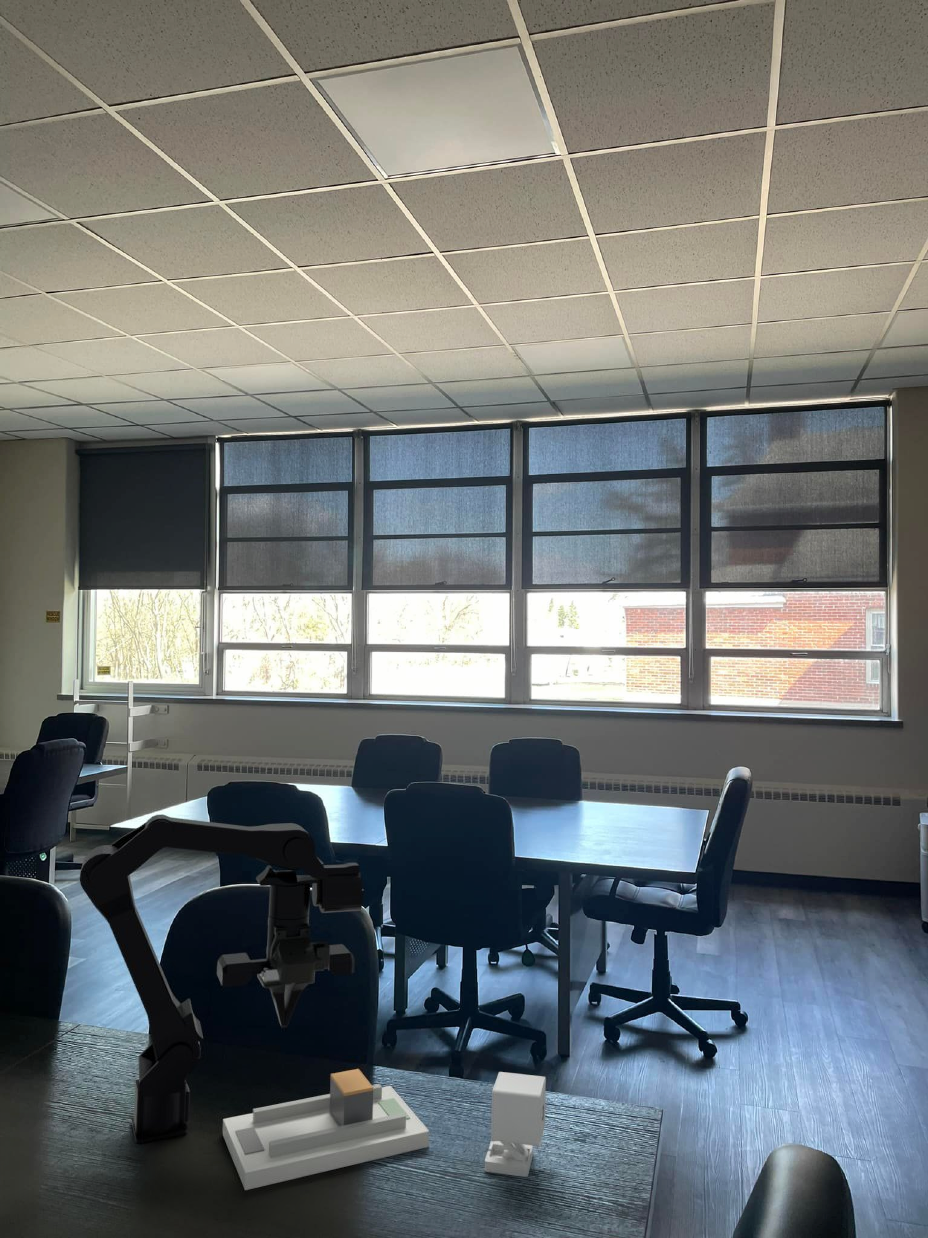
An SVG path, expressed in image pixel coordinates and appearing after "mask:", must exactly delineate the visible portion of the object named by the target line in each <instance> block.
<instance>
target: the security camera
mask: <svg viewBox="0 0 928 1238" xmlns="http://www.w3.org/2000/svg"><path fill="white" fill-rule="evenodd" d="M546 1079H547V1078H546V1076H541V1075H531V1074H523V1073H515V1072H506V1071H505V1072H503V1071H498V1074H497V1077H496V1080H495V1082H494V1085H493V1088H492V1091H491V1119H490V1121H491V1122H490V1124H491V1125H490V1126H491V1129H490V1144H489V1146H488V1150H487V1153H486V1155H485V1159H484V1171H485V1172H487V1173H492V1174H493V1173H494V1174H501V1175H508V1176H509V1175H510V1176H517V1177H518V1176H519V1177H524V1178H528V1176H529V1172H530V1169H531V1165H532V1160H533V1157H534V1147H537V1148H541V1146H542V1140H543V1136H544V1132H545V1125H546V1098H547V1097H546V1083H547V1081H546Z"/></svg>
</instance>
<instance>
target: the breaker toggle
mask: <svg viewBox="0 0 928 1238" xmlns="http://www.w3.org/2000/svg"><path fill="white" fill-rule="evenodd" d="M329 1088H330V1089H329V1094H330V1112H331V1114H332V1115H333V1117H334V1118H335V1120H336V1121H337V1123H338V1124H339V1126H344V1125H349V1124H353V1123H358V1122H363V1121H367V1120H372V1119H373V1086H372V1084H371V1083H370V1081H369V1080H368V1079H367V1078H366V1076H365V1075H364V1074H363V1072H362V1071H361V1070H360V1069H359V1068H356V1069H351V1070H345V1071H341V1072H340V1071H339V1072H335V1073H330V1085H329Z"/></svg>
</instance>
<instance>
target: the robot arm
mask: <svg viewBox="0 0 928 1238" xmlns="http://www.w3.org/2000/svg"><path fill="white" fill-rule="evenodd" d="M163 848H169V849H170V848H171V849H180V850H187V851H188V850H190V851H197V852H205V853H206V852H207V853H215V854H226V855H232V856H233V855H234V856H245V857H249V858H252V859H255V860H257V861H260V862H263V863H265V864H268V865H267V866H266V867H265V869H264V870H263V871H262V872H261V873H259V874H258V875H257V876H256V877H255V880H256V881H257V883H258V884H259V886H261V887H269V901H268V918H267V926H268V927H267V943H266V945H267V946H266V951H265V952H266V958H260V959H259V958H258V959H250V957H249V955H248V953H247V952H238V953H229V954H221V956H220V957H219V958H218V959H217V964H216V976H217V978H218V980H219V982H220V985H221V987H225V988H229V987H238V986H246V985H247V984H248V983H249V982H250V981H251V980H252V978H253V975H257V976H256V977H257V979H258V980H259V982H260V984H261V986H262V987H263V988H264V989H269V991H270V993H271V994H270V995H271V998H272V1001H273V1004H274V1007H275V1012H276V1015H277V1017H278V1018H277V1020H278V1022H279V1024H280V1025H279V1026H281V1028H287V1027H288V1025H289V1023H290V1020H291V1018H292V1015H293V1012H294V1010H295V1007H296V1005H297V1002H298V1000H299V998H300V997H301V994H302V993H303V991H304V989H305V988H306V987H307V986H309V985H310V984H314V983H315V981H316V979H315V977H316V976H315V975H316V972H319V971H320V972H321V971H325V969H327V970H328V971H329V973H331V975H333V977H334V976H335V977H336V976H344V975H345V976H346V975H353V974H354V973H355V962H356V961H355V957H354V954H353V953H352V952H351V951H349V949H348V948H347V947H346V946H345V945H344V944H343V943H340V944H339V943H337V944H329V942H328V941H318V942H317V941H316V942H313V941H312V938H311V925H310V924H309V923H310V903H311V899H312V905H313V907H319V911H320V912H321V914H322V913H323V914H325V913H328V914H329V913H341V912H359V911H360V910H362V907H363V904H364V889H363V882H362V877H361V872H360V871H361V866H360V865H359V864H358V863H357V862H347V863H343V864H326V865H325V864H324V862H323V861H322V860H321V859H320V858H319V857H318V856H317V855H316V854H315V853H316V844H315V840H314V839H313V837H312V835H311V834H310V833H309V832H308V831H307V830H306V829H304V828H303V827H302V826H301V825H299V824H297V823H293V822H289V823H288V822H287V823H285V822H284V823H267V824H264V825H263V824H262V825H257V826H256V825H253V826H245V825H238V824H237V825H236V824H229V823H221V822H219V823H218V822H214V821H213V822H212V821H204V820H195V819H187V818H179V817H173V816H172V817H171V816H168V815H166V814H155V815H153V816H151V817H150V818H148V820H147V821H146V822H144V823H143V824H141V825H139V826H138V827H136V828H135V829H133V830H131V831H130V832H127V833H126V834H125V835H123V836H122V837H120V838H118V839H117V840H116V841H114V842H113V843H111V844H109V845H107V844H106V845H105V844H104V845H103V844H102V845H100V846H96V847H95V848H93V849H92V850H90V851H89V852H88V853H87V854H86V855H85V857H84V859H83V862H82V866H81V869H80V872H79V883H80V886H81V888H82V890H83V892H84V893H85V894H86V897H88V899H89V901H90V902H91V903H92V904H93V906H94V907H95V909H96V910H97V911H98V912H99V914H100V915H101V916H102V917H103V918H104V919H105V921H106V922H107V923H108V925H109V928H110V929H111V932H112V934H113V937H114V939H115V941H116V944H117V946H118V949H119V951H120V953H121V956H122V958H123V961H124V963H125V966H126V968H127V970H128V972H129V975H130V977H131V980H132V982H133V984H134V986H135V989H136V991H137V994H138V996H139V999H140V1001H141V1004H142V1006H143V1008H144V1011H145V1012H146V1016H147V1020H148V1027H149V1033H150V1038H151V1043H150V1044H149V1045H148V1046H147V1047H145V1049H144V1050H143V1051H142V1052H141V1053H140V1054H139V1055H138V1061H137V1062H138V1079H135V1081H134V1083H135V1084H134V1104H133V1105H134V1106H133V1107H134V1109H133V1117H132V1118H131V1122H130V1123H131V1126H132V1130H133V1135H134V1140H135V1143H136V1144H142V1143H147V1142H152V1141H157V1140H161V1139H168V1138H171V1137H177V1136H182V1135H185V1134H187V1133H188V1125H187V1123H189V1121H190V1108H191V1102H190V1101H191V1091H190V1088H189V1085H188V1084H187V1079H186V1078H187V1076H188V1074H189V1073H190V1072H191V1071H193V1070H194V1069H195V1068H196V1066H198V1063H199V1061H200V1059H201V1056H202V1049H201V1044H200V1042H201V1043H203V1042H204V1036H203V1031H202V1030H203V1029H202V1025H201V1021H200V1020H199V1019H198V1018H196V1016H195V1014H194V1012H193V1007H192V1004H191V1003H192V1002H191V998H187V999H185V1001H183V1002H182V1003H181V1002H180V1001H179V1000H178V999H177V998H176V996H175V995H174V993H173V992H172V990H171V988H170V986H169V983H168V980H167V978H166V976H165V974H164V971H163V968H162V966H161V964H160V961H159V959H158V956H157V954H156V952H155V949H154V947H153V944H152V942H151V940H150V937H149V935H148V932H147V930H146V928H145V925H144V923H143V920H142V918H141V916H140V913H139V911H138V908H137V906H136V902H135V897H134V891H133V887H132V882H131V881H132V880H131V876H130V875H131V874H133V873H134V872H136V871H137V870H138V869H139V868H140V867H142V866H143V865H144V864H145V863H146V862H147V861H149V860H150V859H151V858H152V857H153V856H154V855H156V854H157V853H158V852H160V850H162V849H163ZM272 866H275V867H278V868H282V869H284V870H275V869H273V867H272ZM296 871H302V872H304V873H305V874H306V875H305V874H304V875H302V874H301V875H297V872H296ZM311 884H312V885H311ZM311 886H312V888H311Z"/></svg>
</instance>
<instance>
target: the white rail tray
mask: <svg viewBox="0 0 928 1238" xmlns="http://www.w3.org/2000/svg"><path fill="white" fill-rule="evenodd" d="M371 1085H372V1084H371ZM372 1086H373V1119H372V1120H367V1121H363V1122H358V1123H353V1124H349V1125H344V1126H339V1124H338V1123H337V1121H336V1120H335V1118H334V1117H333V1115H332V1114H331V1112H330V1093H328V1094H327V1093H326V1094H322V1095H317V1096H313V1097H307V1098H303V1099H297V1100H293V1101H292V1100H291V1101H286V1102H281V1103H278V1104H272V1105H267V1106H262V1107H256V1108H252V1113H247V1114H246V1113H245V1114H242V1115H237V1116H231V1117H227V1118H223V1119H222V1136H223V1139H224V1141H225V1143H226V1146H227V1149H228V1152H229V1154H230V1156H231V1159H232V1162H233V1164H234V1166H235V1168H236V1171H237V1174H238V1177H239V1178H240V1181H241V1183H242V1186H243V1189H244V1191H249V1190H252V1189H257V1188H261V1187H265V1186H269V1185H274V1184H277V1183H282V1182H286V1181H290V1180H295V1179H299V1178H302V1177H303V1178H304V1177H307V1176H312V1175H315V1174H321V1173H324V1172H328V1171H332V1170H336V1169H340V1168H344V1167H349V1166H353V1165H358V1164H363V1163H365V1162H371V1161H375V1160H379V1159H383V1158H387V1157H391V1156H395V1155H400V1154H405V1153H408V1152H411V1151H416V1150H417V1151H418V1150H421V1149H426V1148H429V1146H430V1131H429V1130H430V1129H428V1128H427V1127H426V1125H425V1124H424V1123H423V1121H421V1120H420V1119H419V1117H418V1116H417V1114H415V1112H414V1111H413V1110H412V1109H411V1108H410V1106H408V1104H407V1103H406V1102H405V1101H404V1100H403V1098H402V1097H401V1096H400V1095H399V1094H398V1093H397V1092H396V1090H395V1089H394V1088H393V1087H392V1086H391V1085H387V1086H382V1085H381V1084H380V1083H377V1084H373V1085H372Z"/></svg>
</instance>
